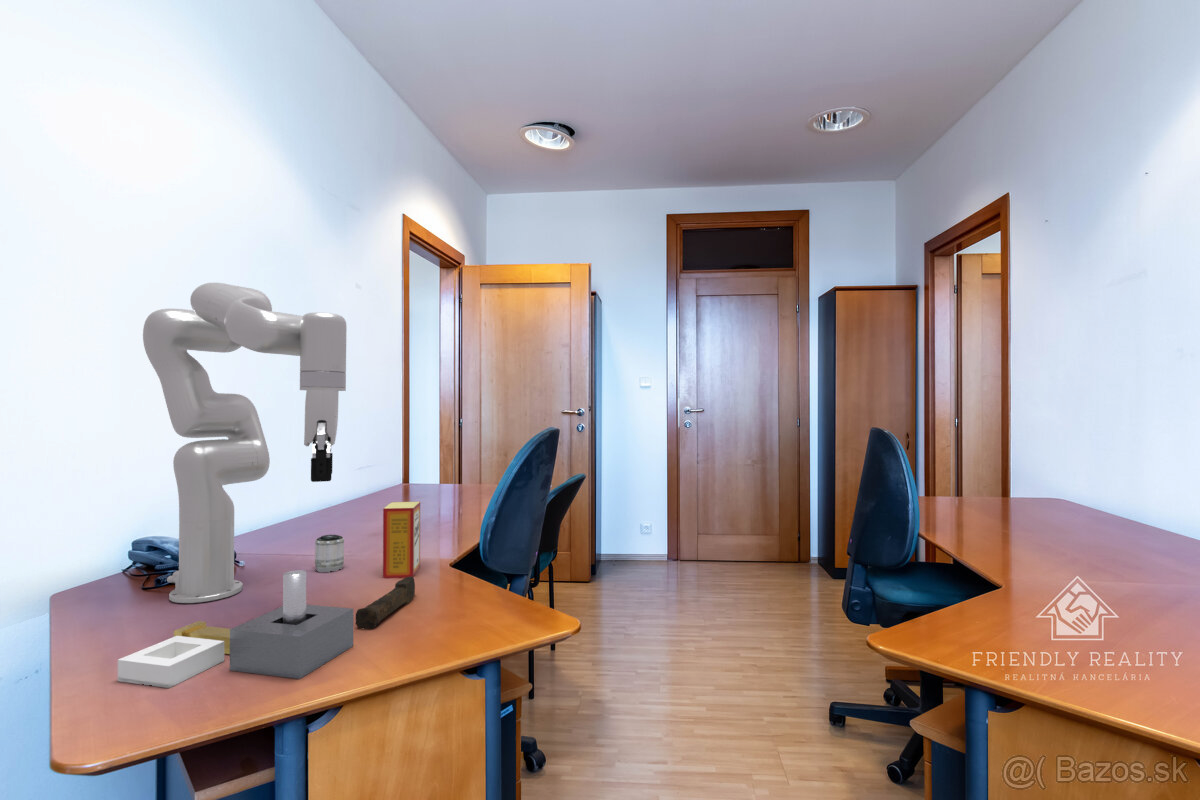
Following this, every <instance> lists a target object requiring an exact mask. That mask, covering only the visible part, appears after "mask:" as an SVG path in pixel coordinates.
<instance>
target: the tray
mask: <svg viewBox="0 0 1200 800" xmlns="http://www.w3.org/2000/svg"><path fill="white" fill-rule="evenodd" d="M224 661H225V654H224V641H220V640H211V639H202V638H193V637H184V636H175V637H174V636H173V637H171V638H168V639H167V638H166V639H165V640H164V641H163V640H162V641H160V642H159V643H156V644H153V645H151V646H148V647H145V648H143V649H141V650H137V651H136V652H133V653H131V654H128V655H125V656H123V657H120V658H119V659H117V682H121V683H129V684H135V685H142V684H144V685H143V686H149V685H152V687H157V688H158V687H159V688H166V689H170V688H172V687H174V686H176V685H179V684H181V683H182V682H185V681H186V680H189V679H190V678H192V677H194V676H196V675H199V674H201V673H203V672H205V671H206V670H208V669H211V668H213V667H215V666H217V665H219V664H221V663H223V662H224Z"/></svg>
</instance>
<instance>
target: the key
mask: <svg viewBox="0 0 1200 800" xmlns="http://www.w3.org/2000/svg"><path fill="white" fill-rule="evenodd" d="M230 629H231V628H227V627H226V628H225V627H218V626H209V625H207V621H201V620H197V621H196V622H193V623H189V624H187V625H184V626H182V627H179V628H177V629H175V630H173V637H175V636H184V637H193V638H202V639H211V640H220V641H224V655H230Z"/></svg>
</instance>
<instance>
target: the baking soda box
mask: <svg viewBox="0 0 1200 800" xmlns="http://www.w3.org/2000/svg"><path fill="white" fill-rule="evenodd" d="M382 511H383V512H382V515H383V517H382V521H383V522H382V523H383V524H382V526H383V527H382V528H383V529H382V530H383V531H382V537H383V538H382V578H384V579H404V578H406V577H410V576H412V577H413V578H415V577H414V576H415V575H416V574H417V572H418V571H419V569H420V567H421V501H391V503H388V504H387V505H386V506H384V507H383V509H382Z"/></svg>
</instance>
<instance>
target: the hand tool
mask: <svg viewBox="0 0 1200 800" xmlns="http://www.w3.org/2000/svg"><path fill="white" fill-rule="evenodd" d="M415 590H416V582H415V577H412V576H410V577H406V578H401V579H400V580H398V581H397V582H396V583H395V585H394V588H393V589H391V590H390V591H389V592H387V593H385V594H384V595H383V596H381V597H379V598H378V599H377V600H375V601H372V603H370V604H368V605H367V606H365V607H362V608H358V609H357V611H356V613H355V625H356V627H357V628H358V629H359V628H364V629H363V630H373V629H375V628H376V626H379V625H380V621H382V620H383V619H384V618H386V617H387V616H389V615H390V614H392V613H394V611H396V610H398V608H399V607H401V606H407V605H409V604H410V603H411V602H412V601H413V598H415V595H416V591H415Z"/></svg>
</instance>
